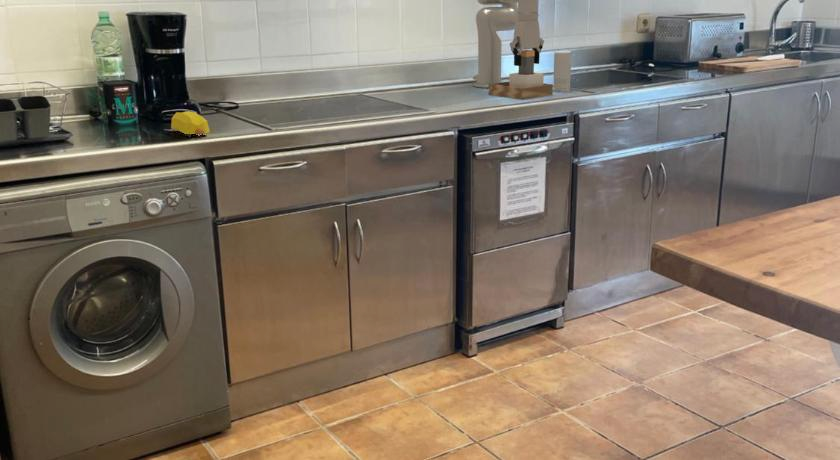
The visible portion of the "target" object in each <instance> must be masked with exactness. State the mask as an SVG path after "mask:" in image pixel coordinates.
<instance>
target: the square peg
mask: <svg viewBox="0 0 840 460" xmlns="http://www.w3.org/2000/svg"><path fill="white" fill-rule="evenodd" d="M520 55H521V66H518V73H519V74H523V75H530V74H534V73H535V64H534V56H535V51H534V50H532V49H523V50H522V52H521V54H520Z"/></svg>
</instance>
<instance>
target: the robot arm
mask: <svg viewBox="0 0 840 460" xmlns="http://www.w3.org/2000/svg"><path fill="white" fill-rule="evenodd" d="M539 2H540V1H539V0H477V3H479V5H482V6H488V7H482V8H480V9H479V10H478V11H477V12H476V15H475V23H476V29H477V30H476V31H477V43H478V44H477V48H478V49H477V55H478V56H477V74H475V76H473V77H472V79H473V80H475V81H476V82H474V85H473V86H474V87H476V88H484V89H485V88H486V89H489V84H493V83H501V82H502V40H501V38H500V36H499V35H498V33H497V32H507V31H509V32H510V31H513V30H514V31H513V40H512V41H511V42H510V43H509V47H510V50H511V52H512V55H513V65H514V67H515V66H517V67H519V66H521V55H520V54H521V52H522V50H534V51H535V56H534V65H536V64H537V65H539V64H540V53H541V52H542V49H543V46H544V43H545V39H543V38H541V37H540V36H541V32H540V31H541V29H540V22H539V17H540V15H539Z"/></svg>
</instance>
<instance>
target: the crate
mask: <svg viewBox="0 0 840 460" xmlns="http://www.w3.org/2000/svg"><path fill="white" fill-rule="evenodd" d="M553 93H554V83H552V84H551V83H544V82H543V85H541V86H534V87H527V88H519V87H511V86H509V81H503V82H502V81H501V83H493V84H489V88H488V95H489V96H492V97H501V98H509V99H515V100H521V101H523V100H525V101H526V100H530V99H531V100H532V99H537V98H543V97H550V96H551V97H552V96H553Z"/></svg>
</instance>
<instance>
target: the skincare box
mask: <svg viewBox="0 0 840 460" xmlns="http://www.w3.org/2000/svg"><path fill="white" fill-rule="evenodd" d="M553 56H554V57H553V93H570V92H571V77H572V71H571V70H572V51H571V50H558V51H557V50H556V51H554V55H553Z"/></svg>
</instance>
